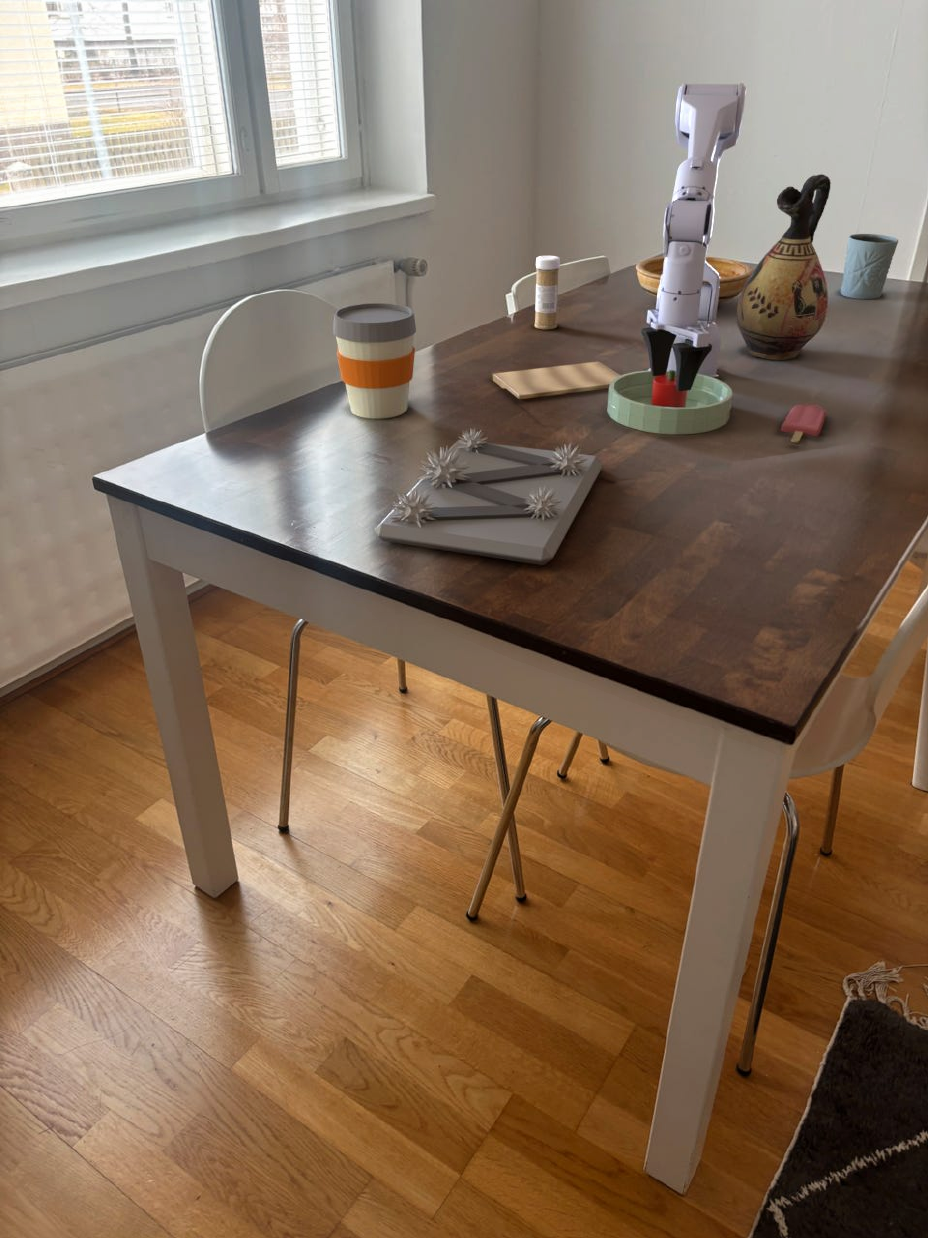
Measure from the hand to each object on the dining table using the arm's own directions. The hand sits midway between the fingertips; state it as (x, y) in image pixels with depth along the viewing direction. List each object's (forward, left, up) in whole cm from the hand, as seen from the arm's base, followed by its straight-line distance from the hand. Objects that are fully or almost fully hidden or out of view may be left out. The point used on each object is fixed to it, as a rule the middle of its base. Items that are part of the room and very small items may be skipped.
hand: (670, 382), depth 145 cm
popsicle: (-16, +12, -6) cm, 21 cm away
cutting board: (+9, -20, -5) cm, 23 cm away
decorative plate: (+36, +21, -6) cm, 42 cm away
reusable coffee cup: (+41, -19, -6) cm, 46 cm away
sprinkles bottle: (-3, -54, -6) cm, 54 cm away
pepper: (0, 0, -5) cm, 5 cm away
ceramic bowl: (-39, -59, -6) cm, 71 cm away
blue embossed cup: (-80, -54, -6) cm, 97 cm away
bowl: (0, 0, -5) cm, 5 cm away
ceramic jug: (-36, -23, -6) cm, 43 cm away
